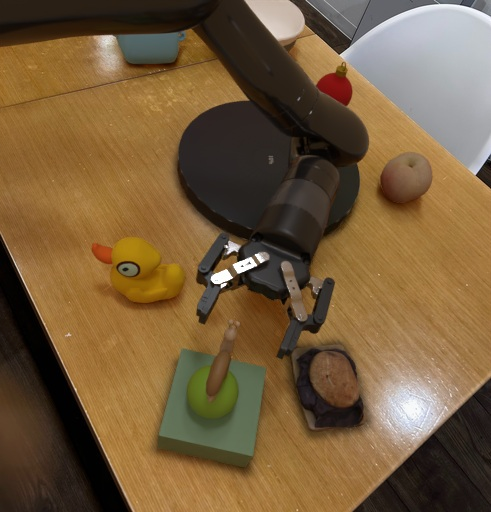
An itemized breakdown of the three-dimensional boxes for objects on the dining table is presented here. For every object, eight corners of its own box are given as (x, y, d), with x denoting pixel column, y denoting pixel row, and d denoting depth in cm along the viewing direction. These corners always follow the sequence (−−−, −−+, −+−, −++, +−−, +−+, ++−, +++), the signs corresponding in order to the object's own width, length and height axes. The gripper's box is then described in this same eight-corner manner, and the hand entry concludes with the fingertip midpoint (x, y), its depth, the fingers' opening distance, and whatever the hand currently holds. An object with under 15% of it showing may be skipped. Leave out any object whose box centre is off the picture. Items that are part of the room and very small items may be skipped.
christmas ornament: (350, 120, 95) (369, 74, 87) (315, 120, 93) (332, 74, 85) (338, 96, 99) (356, 51, 91) (305, 96, 97) (320, 49, 89)
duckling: (91, 302, 64) (84, 257, 56) (101, 267, 67) (96, 220, 59) (179, 314, 65) (184, 272, 57) (185, 280, 68) (191, 236, 60)
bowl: (271, 22, 111) (280, -16, 104) (310, 72, 102) (322, 35, 95) (193, 28, 104) (196, -12, 97) (227, 82, 95) (233, 43, 88)
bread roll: (285, 350, 64) (292, 337, 61) (345, 345, 66) (355, 332, 63) (303, 433, 58) (312, 423, 56) (369, 425, 60) (381, 415, 57)
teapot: (87, 32, 97) (82, -28, 88) (178, 32, 102) (182, -25, 93) (96, 71, 90) (91, 10, 81) (192, 69, 96) (197, 11, 87)
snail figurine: (242, 376, 56) (263, 327, 46) (227, 432, 52) (246, 391, 42) (196, 362, 56) (207, 310, 46) (177, 416, 52) (186, 372, 42)
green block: (156, 448, 55) (158, 435, 51) (178, 365, 61) (181, 347, 57) (244, 467, 55) (253, 456, 51) (258, 383, 61) (266, 367, 57)
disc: (379, 239, 78) (387, 227, 76) (191, 251, 71) (193, 239, 68) (324, 114, 95) (329, 101, 92) (166, 113, 87) (167, 99, 85)
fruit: (368, 176, 87) (386, 141, 80) (410, 178, 88) (431, 144, 82) (380, 211, 82) (400, 177, 76) (424, 213, 84) (447, 179, 77)
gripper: (241, 181, 56) (178, 289, 47) (359, 229, 55) (318, 351, 45) (232, 222, 62) (174, 326, 53) (337, 267, 61) (298, 381, 51)
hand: (241, 337), depth 49 cm, fingers open, 8 cm apart
